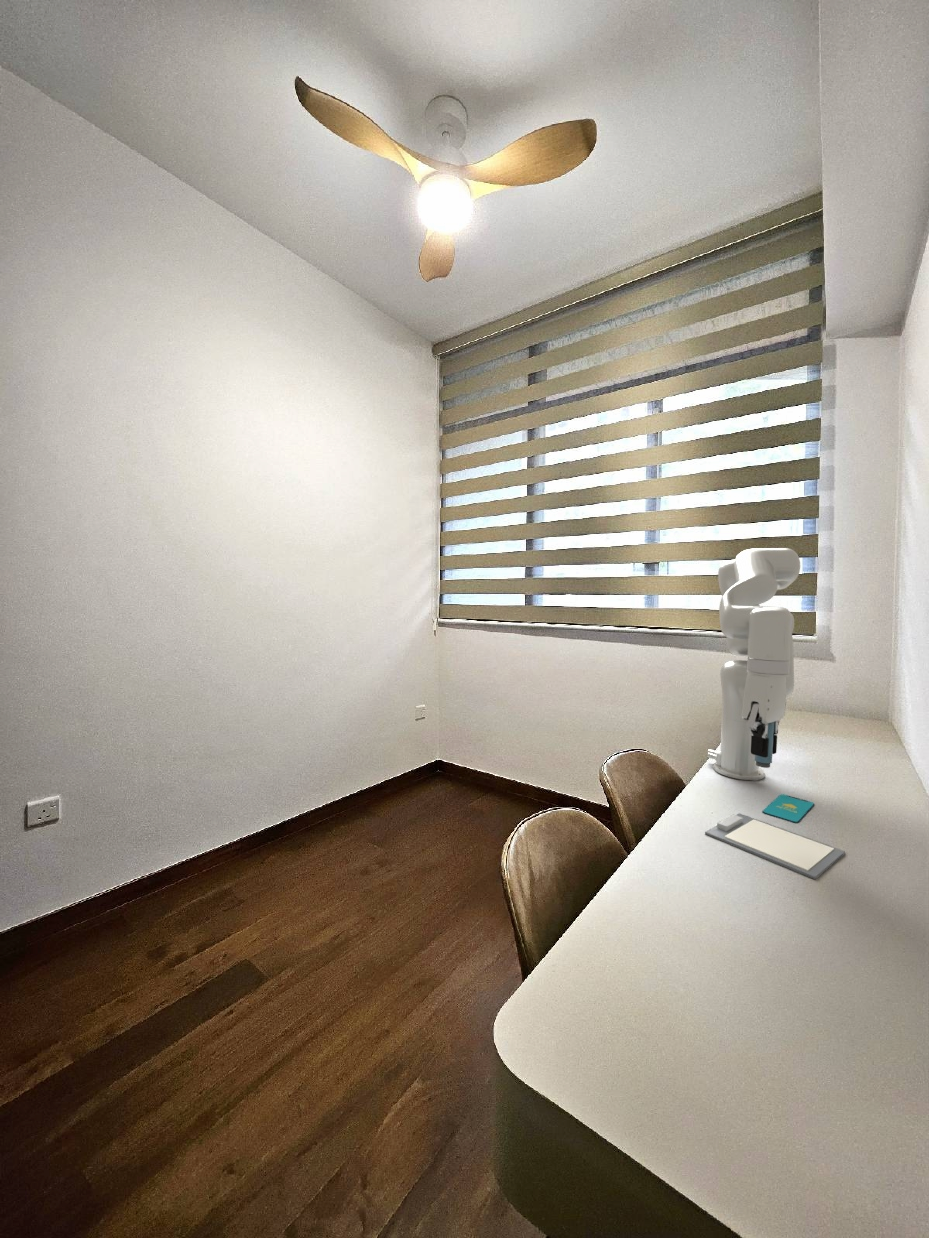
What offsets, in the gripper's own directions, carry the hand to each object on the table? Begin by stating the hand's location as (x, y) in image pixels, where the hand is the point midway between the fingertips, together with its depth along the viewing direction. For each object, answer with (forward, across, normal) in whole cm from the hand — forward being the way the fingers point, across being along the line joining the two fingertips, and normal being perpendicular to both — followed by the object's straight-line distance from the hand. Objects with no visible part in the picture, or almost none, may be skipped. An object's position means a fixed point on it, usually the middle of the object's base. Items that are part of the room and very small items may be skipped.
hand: (763, 752), depth 106 cm
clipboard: (+17, +3, +4) cm, 18 cm away
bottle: (+3, 0, 0) cm, 3 cm away
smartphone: (+17, -18, -1) cm, 25 cm away
